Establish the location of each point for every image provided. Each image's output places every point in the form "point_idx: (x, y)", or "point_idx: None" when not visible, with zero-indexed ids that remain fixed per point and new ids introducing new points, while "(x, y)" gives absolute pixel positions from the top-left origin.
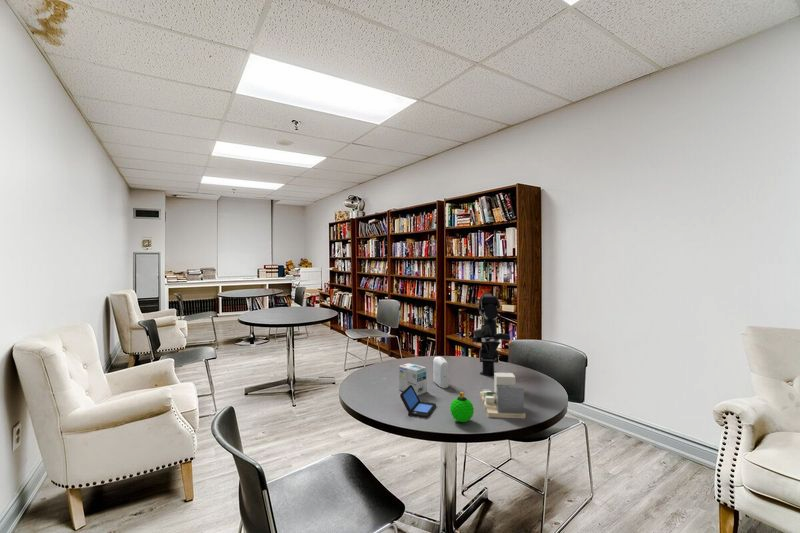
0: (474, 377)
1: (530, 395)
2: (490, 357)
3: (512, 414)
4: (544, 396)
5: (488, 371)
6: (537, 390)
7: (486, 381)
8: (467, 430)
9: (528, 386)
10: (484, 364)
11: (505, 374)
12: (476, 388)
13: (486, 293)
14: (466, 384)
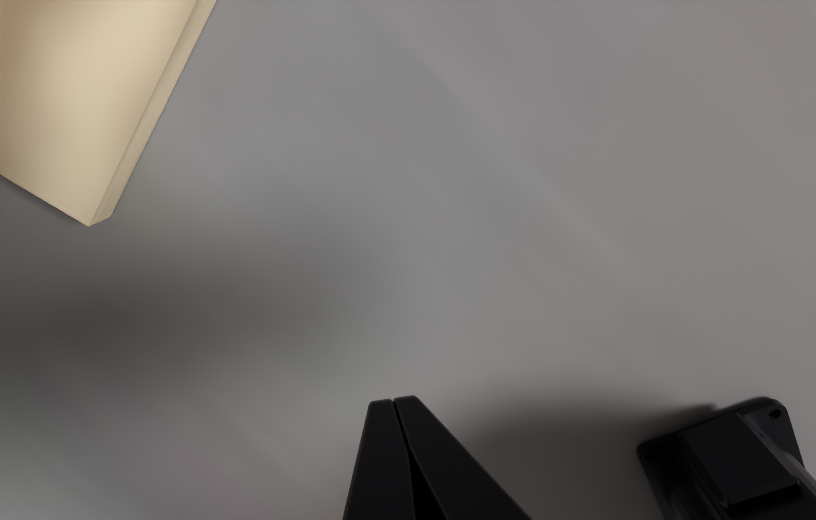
0: (744, 279)
1: (64, 363)
2: (374, 406)
3: None
4: (10, 435)
5: (692, 460)
6: (145, 491)
7: (563, 298)
8: None
9: (252, 504)
10: (794, 504)
11: None
12: (456, 35)
13: None
14: (633, 20)
